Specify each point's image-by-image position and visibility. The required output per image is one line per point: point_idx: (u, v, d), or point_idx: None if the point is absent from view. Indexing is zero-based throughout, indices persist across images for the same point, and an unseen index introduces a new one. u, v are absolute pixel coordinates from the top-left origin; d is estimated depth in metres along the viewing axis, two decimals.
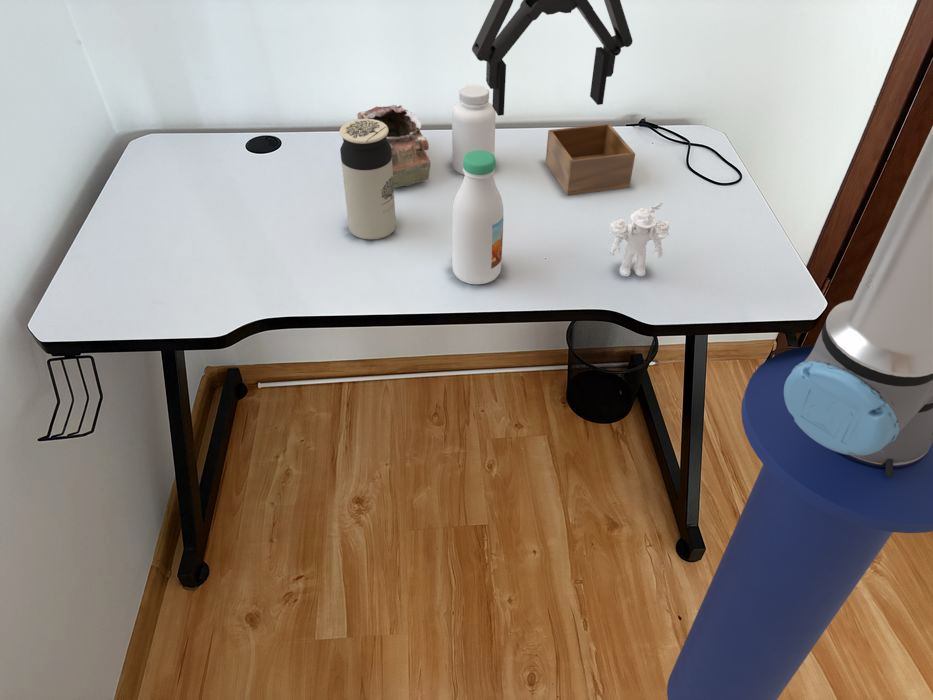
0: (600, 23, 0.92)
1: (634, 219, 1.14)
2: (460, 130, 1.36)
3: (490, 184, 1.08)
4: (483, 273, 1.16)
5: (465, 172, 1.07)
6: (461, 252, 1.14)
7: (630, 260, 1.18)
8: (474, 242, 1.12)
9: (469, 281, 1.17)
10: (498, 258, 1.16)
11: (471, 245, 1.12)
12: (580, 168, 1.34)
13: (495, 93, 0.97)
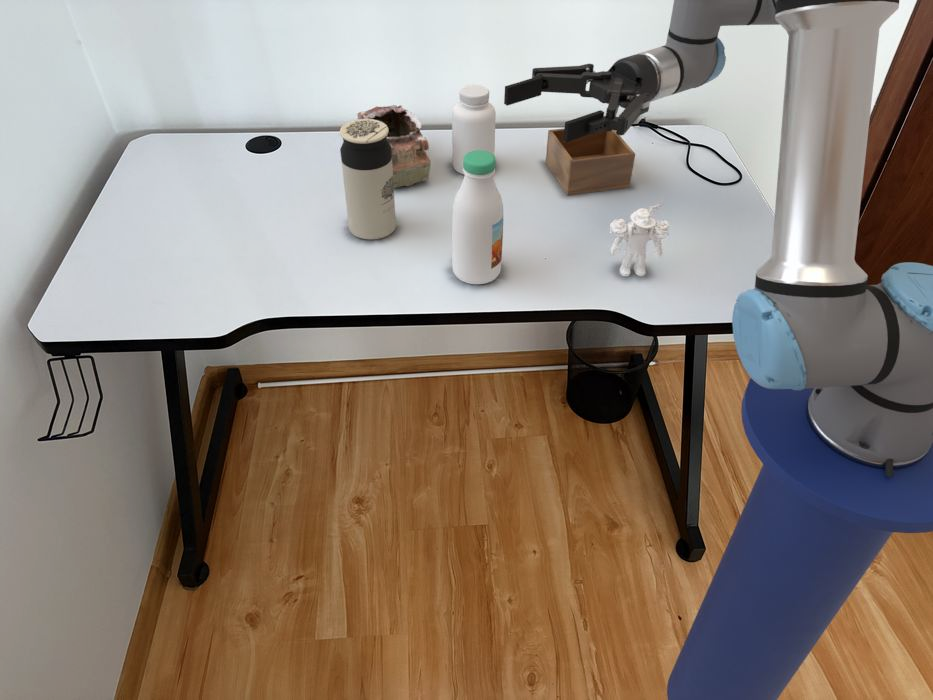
0: (616, 101, 1.08)
1: (634, 219, 1.14)
2: (460, 130, 1.36)
3: (490, 184, 1.08)
4: (483, 273, 1.16)
5: (465, 172, 1.07)
6: (461, 252, 1.14)
7: (630, 260, 1.18)
8: (474, 242, 1.12)
9: (469, 281, 1.17)
10: (498, 258, 1.16)
11: (471, 245, 1.12)
12: (580, 168, 1.34)
13: None
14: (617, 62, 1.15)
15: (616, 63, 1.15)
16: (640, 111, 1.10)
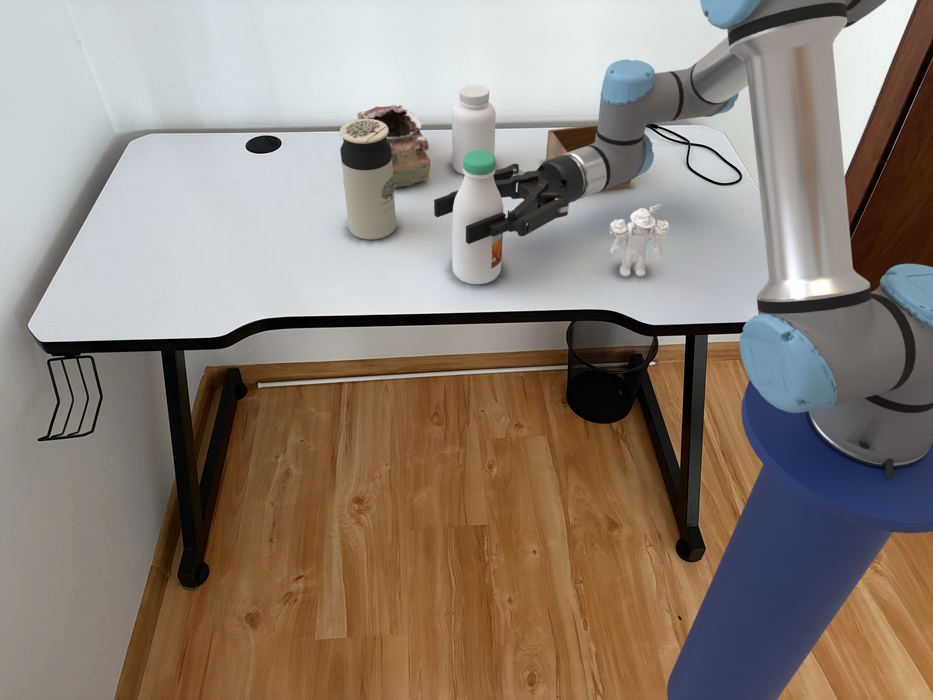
0: (527, 204, 1.12)
1: (634, 219, 1.14)
2: (460, 130, 1.36)
3: (490, 184, 1.08)
4: (483, 273, 1.16)
5: (465, 172, 1.07)
6: (461, 252, 1.14)
7: (630, 260, 1.18)
8: (474, 242, 1.12)
9: (469, 281, 1.17)
10: (498, 258, 1.16)
11: (471, 245, 1.12)
12: None
13: None
14: (544, 163, 1.18)
15: (544, 164, 1.18)
16: (555, 215, 1.13)
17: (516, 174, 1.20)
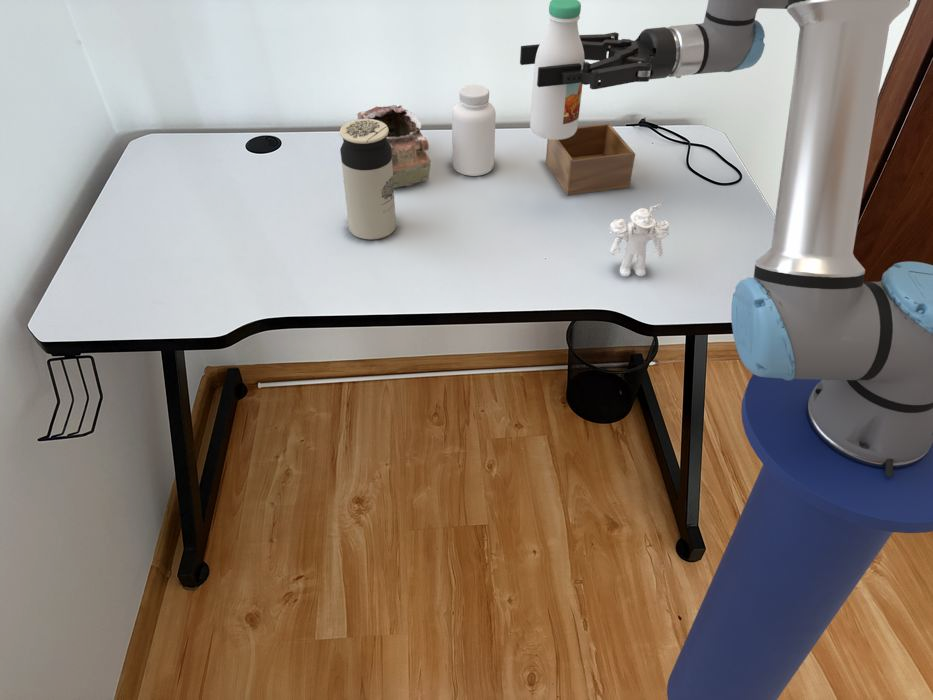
0: (607, 61, 1.14)
1: (634, 219, 1.14)
2: (460, 130, 1.36)
3: (571, 31, 1.11)
4: (554, 127, 1.19)
5: (549, 15, 1.11)
6: (536, 101, 1.18)
7: (630, 260, 1.18)
8: (548, 90, 1.15)
9: (540, 134, 1.21)
10: (572, 115, 1.18)
11: (545, 93, 1.16)
12: (580, 168, 1.34)
13: None
14: (642, 32, 1.18)
15: (641, 33, 1.19)
16: (634, 77, 1.14)
17: None
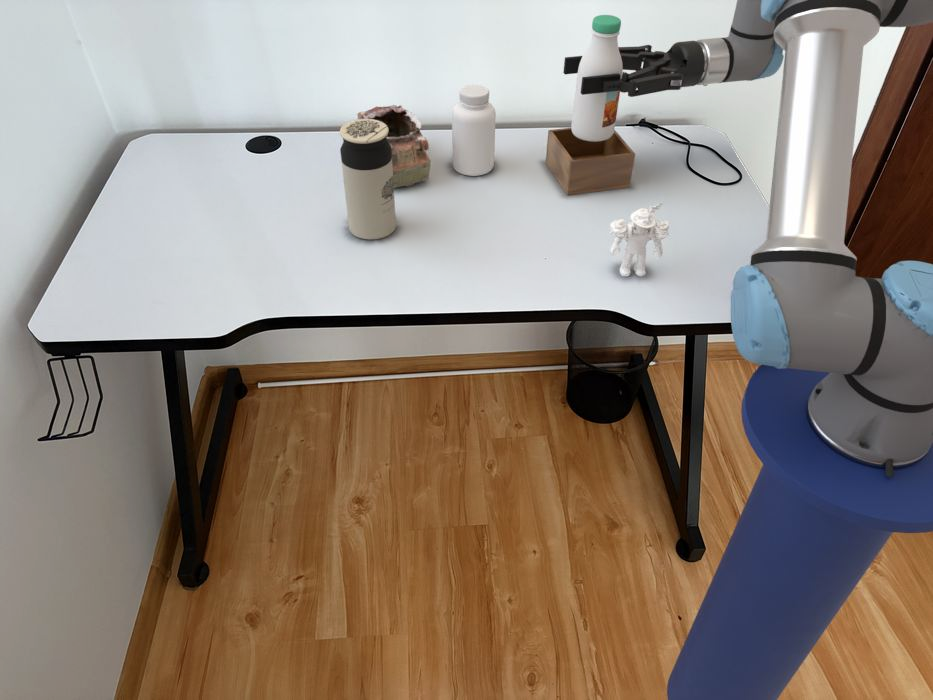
0: (643, 72, 1.27)
1: (634, 219, 1.14)
2: (460, 130, 1.36)
3: (612, 45, 1.24)
4: (594, 130, 1.32)
5: (592, 31, 1.24)
6: (578, 107, 1.31)
7: (630, 260, 1.18)
8: (590, 97, 1.29)
9: (581, 136, 1.34)
10: (610, 119, 1.32)
11: (586, 100, 1.29)
12: (580, 168, 1.34)
13: None
14: (673, 45, 1.32)
15: (672, 46, 1.32)
16: (667, 86, 1.27)
17: None
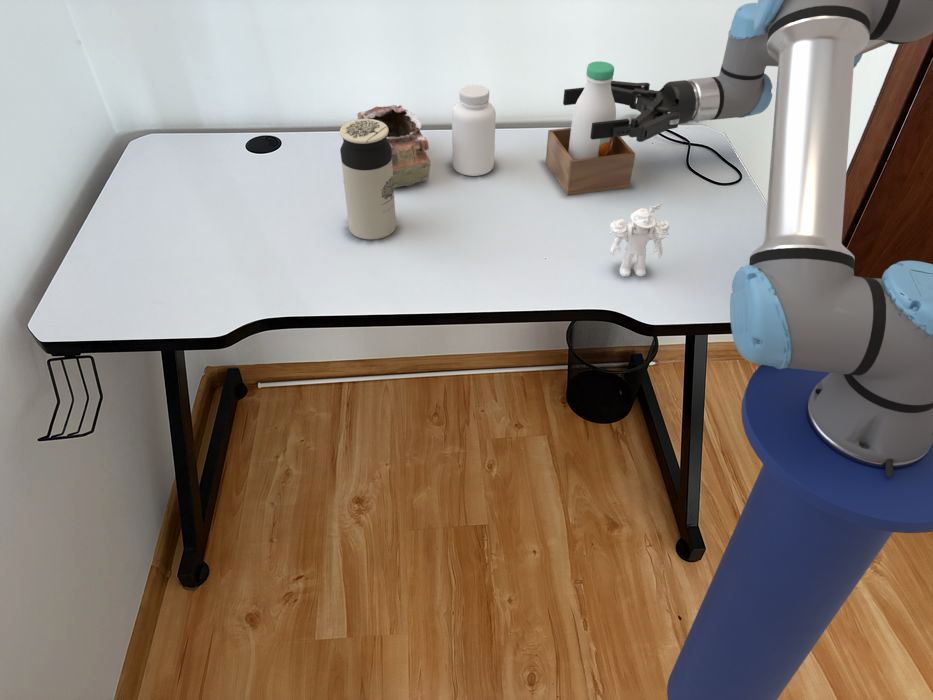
0: (646, 114, 1.31)
1: (634, 219, 1.14)
2: (460, 130, 1.36)
3: (605, 90, 1.30)
4: None
5: (586, 77, 1.29)
6: (573, 148, 1.37)
7: (630, 260, 1.18)
8: (584, 139, 1.34)
9: None
10: None
11: (581, 141, 1.35)
12: (580, 168, 1.34)
13: None
14: (665, 84, 1.36)
15: (665, 85, 1.37)
16: (667, 126, 1.31)
17: None
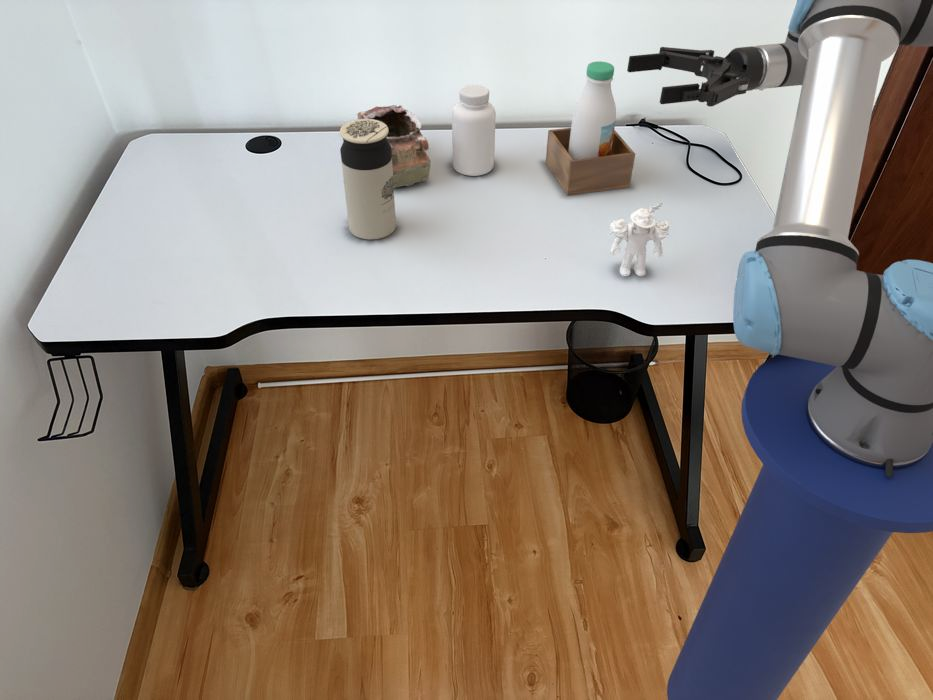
0: (715, 79, 1.30)
1: (634, 219, 1.14)
2: (460, 130, 1.36)
3: (605, 90, 1.30)
4: None
5: (587, 77, 1.29)
6: (573, 148, 1.37)
7: (630, 260, 1.18)
8: (584, 139, 1.34)
9: None
10: None
11: (581, 141, 1.35)
12: (580, 168, 1.34)
13: None
14: (732, 50, 1.35)
15: (731, 51, 1.36)
16: (736, 91, 1.30)
17: None
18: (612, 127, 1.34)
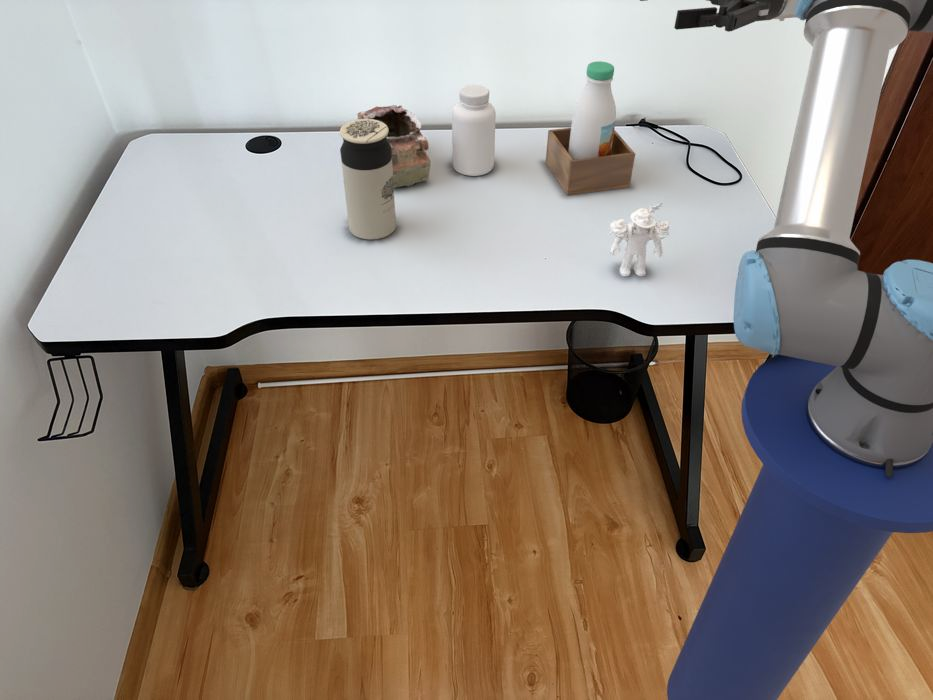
0: (734, 4, 1.21)
1: (634, 219, 1.14)
2: (460, 130, 1.36)
3: (605, 90, 1.30)
4: None
5: (587, 77, 1.29)
6: (573, 148, 1.37)
7: (630, 260, 1.18)
8: (584, 139, 1.34)
9: None
10: None
11: (581, 141, 1.35)
12: (580, 168, 1.34)
13: None
14: None
15: None
16: (756, 17, 1.22)
17: None
18: (612, 127, 1.34)
